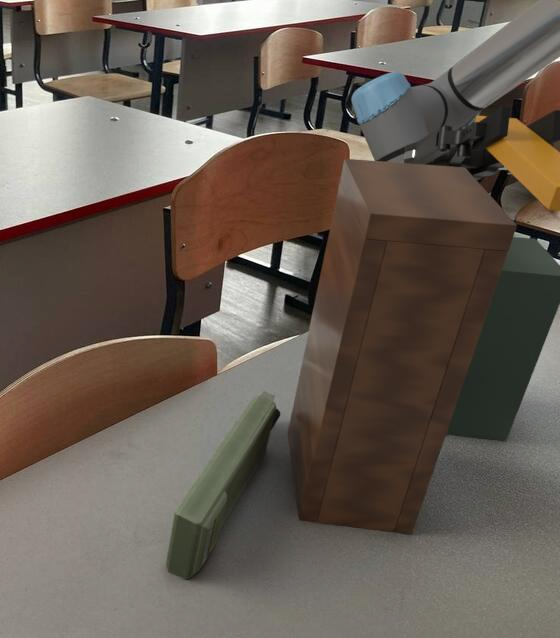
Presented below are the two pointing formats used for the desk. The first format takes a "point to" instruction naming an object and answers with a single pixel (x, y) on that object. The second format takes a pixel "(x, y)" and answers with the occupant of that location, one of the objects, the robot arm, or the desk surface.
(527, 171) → the orange rectangular bar
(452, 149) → the robot arm
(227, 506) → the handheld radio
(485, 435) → the pedestal
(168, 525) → the desk surface
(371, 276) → the tall wooden panelled box
